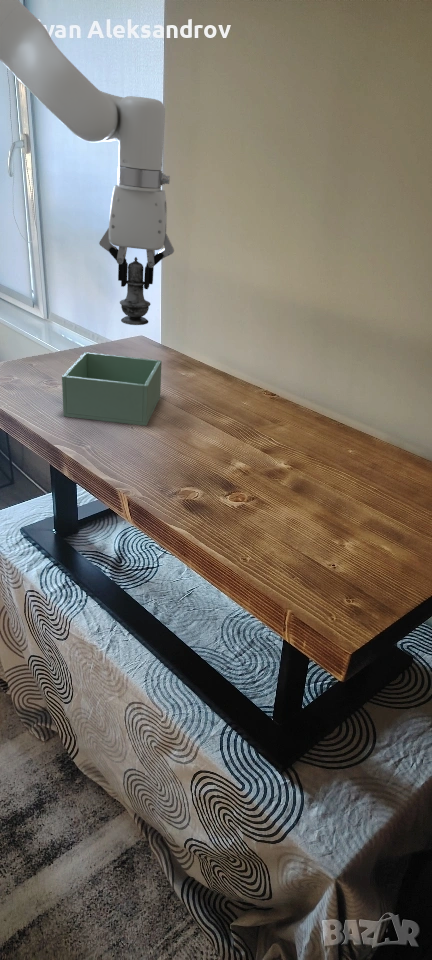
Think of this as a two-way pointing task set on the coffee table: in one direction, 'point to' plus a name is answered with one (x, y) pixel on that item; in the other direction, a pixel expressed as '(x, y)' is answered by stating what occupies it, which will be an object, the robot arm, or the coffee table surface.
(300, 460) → the coffee table surface
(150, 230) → the robot arm
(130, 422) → the box
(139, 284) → the salt shaker
